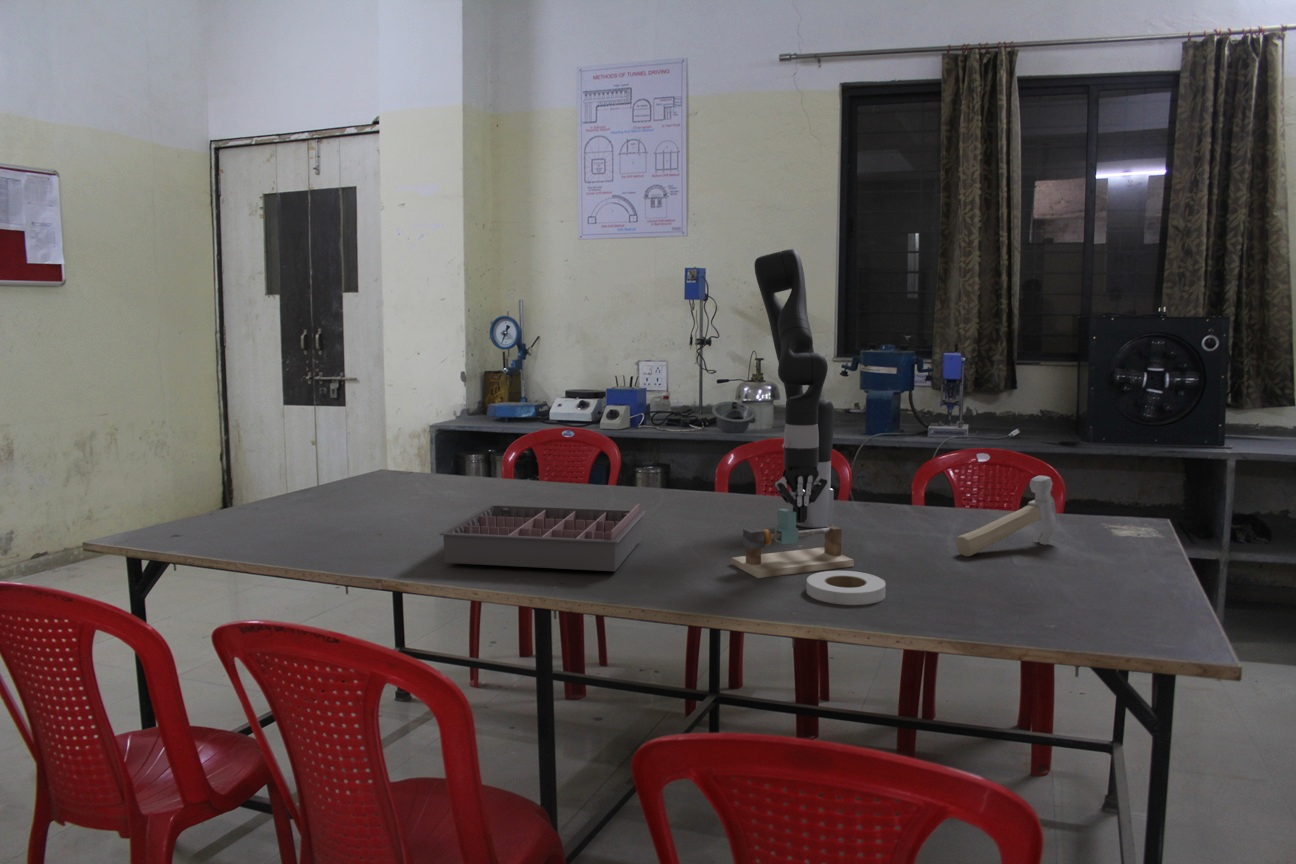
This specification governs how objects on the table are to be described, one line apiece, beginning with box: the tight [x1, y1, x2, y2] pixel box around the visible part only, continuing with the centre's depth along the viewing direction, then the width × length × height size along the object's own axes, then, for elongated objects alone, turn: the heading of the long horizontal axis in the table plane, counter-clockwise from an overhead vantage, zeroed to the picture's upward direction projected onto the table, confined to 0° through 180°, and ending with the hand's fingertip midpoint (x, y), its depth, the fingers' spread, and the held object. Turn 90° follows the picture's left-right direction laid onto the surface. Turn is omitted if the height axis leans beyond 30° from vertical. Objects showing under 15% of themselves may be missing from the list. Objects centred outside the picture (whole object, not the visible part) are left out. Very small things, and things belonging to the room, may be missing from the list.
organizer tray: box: [439, 503, 647, 572], centre depth 216 cm, size 32×40×10 cm
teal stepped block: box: [774, 508, 799, 545], centre depth 205 cm, size 4×4×7 cm
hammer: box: [955, 475, 1057, 557], centre depth 221 cm, size 16×5×30 cm
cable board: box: [730, 524, 855, 579], centre depth 206 cm, size 24×12×9 cm, turn 113°
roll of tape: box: [805, 570, 887, 606], centre depth 186 cm, size 16×15×3 cm
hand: (799, 522), depth 206 cm, fingers closed
